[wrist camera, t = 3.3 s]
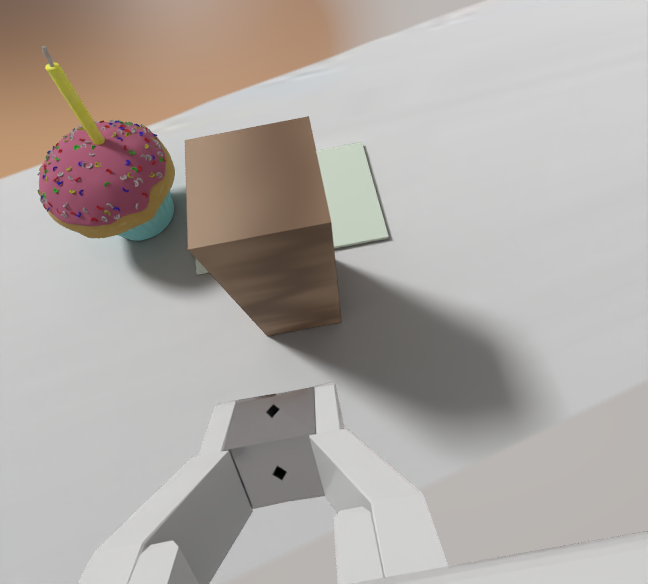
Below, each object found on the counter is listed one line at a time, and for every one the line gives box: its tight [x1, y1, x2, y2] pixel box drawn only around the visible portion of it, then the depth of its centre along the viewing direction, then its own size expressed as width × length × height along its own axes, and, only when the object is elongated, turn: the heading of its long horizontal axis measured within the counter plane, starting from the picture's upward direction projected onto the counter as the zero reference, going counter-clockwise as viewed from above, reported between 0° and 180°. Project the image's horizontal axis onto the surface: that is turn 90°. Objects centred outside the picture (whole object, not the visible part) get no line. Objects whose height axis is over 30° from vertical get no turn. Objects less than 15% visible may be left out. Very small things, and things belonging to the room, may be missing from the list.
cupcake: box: [37, 46, 175, 240], centre depth 22 cm, size 9×8×12 cm
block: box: [185, 116, 341, 336], centre depth 18 cm, size 5×5×12 cm
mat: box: [196, 142, 389, 275], centre depth 27 cm, size 14×9×1 cm, turn 100°
